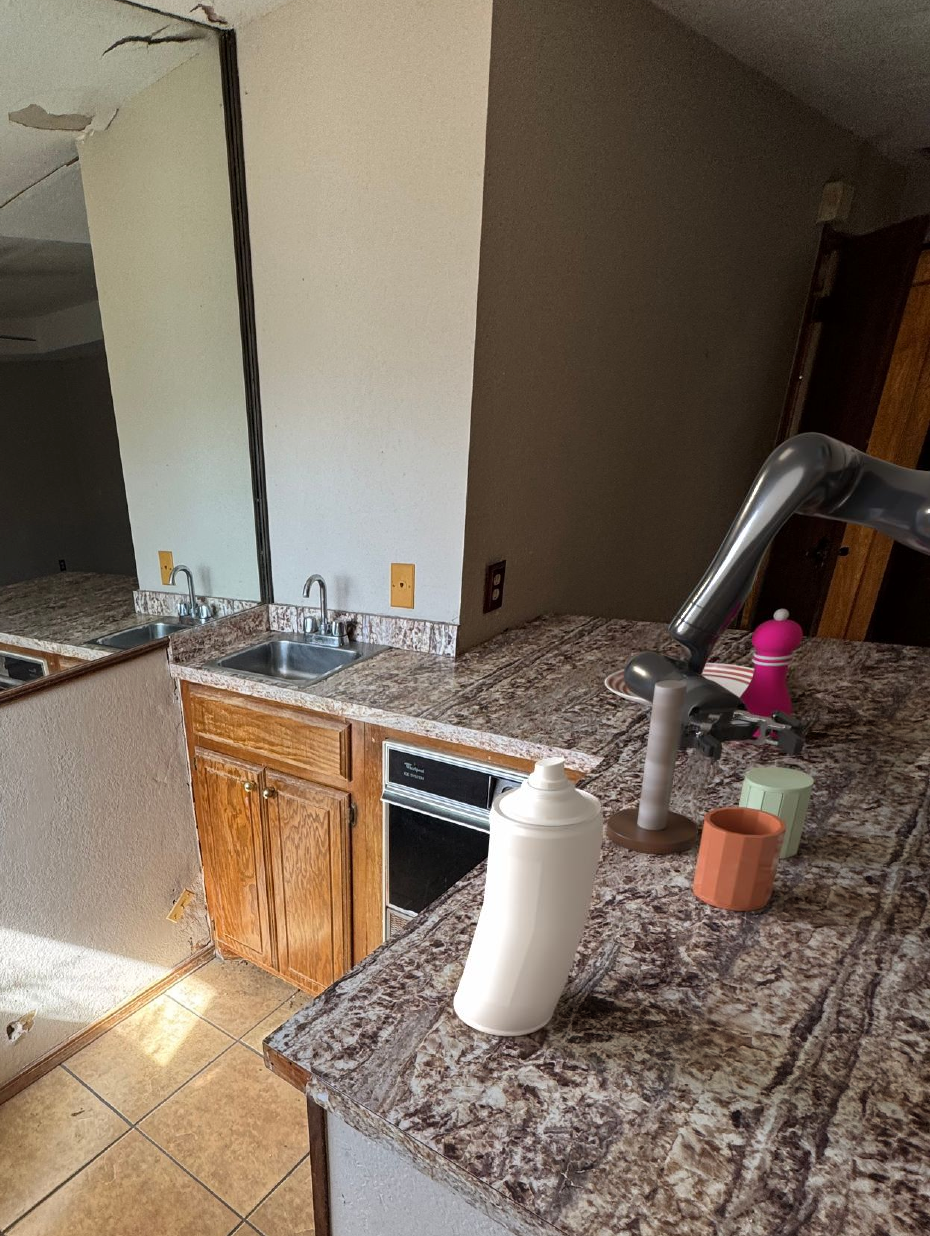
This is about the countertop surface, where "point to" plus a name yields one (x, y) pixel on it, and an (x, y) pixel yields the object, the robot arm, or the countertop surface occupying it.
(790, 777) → the cup
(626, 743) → the countertop surface
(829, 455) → the robot arm
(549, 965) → the spray can
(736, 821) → the cup
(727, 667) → the dinner plate
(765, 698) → the pepper mill
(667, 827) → the towel holder
